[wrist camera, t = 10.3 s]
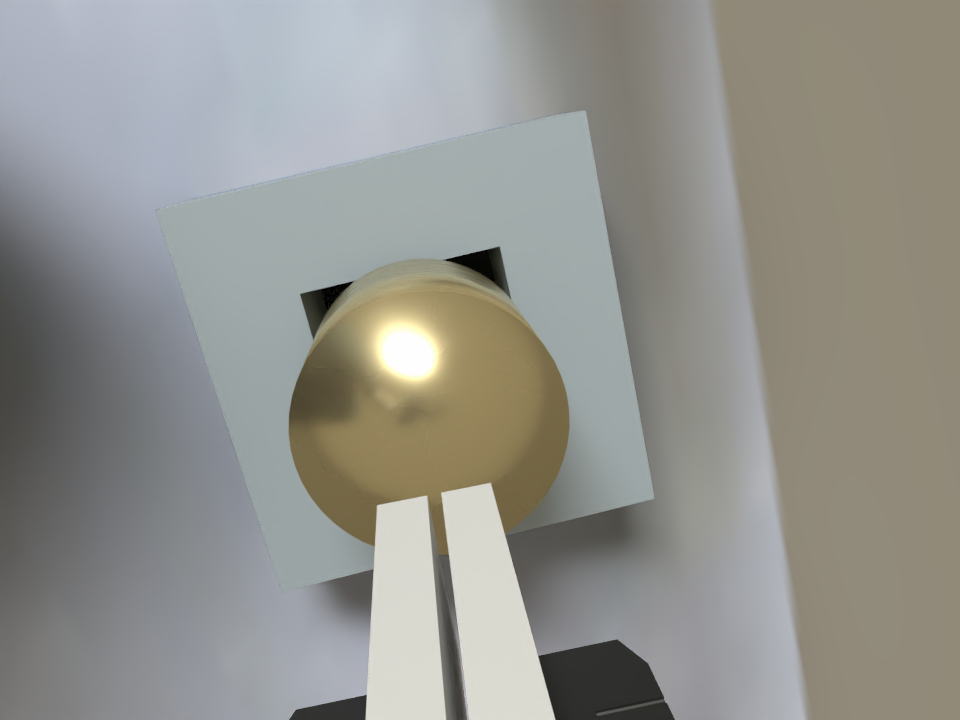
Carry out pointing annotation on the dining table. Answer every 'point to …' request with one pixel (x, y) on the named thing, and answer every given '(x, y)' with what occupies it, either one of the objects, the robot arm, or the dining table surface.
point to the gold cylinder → (426, 399)
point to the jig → (397, 237)
